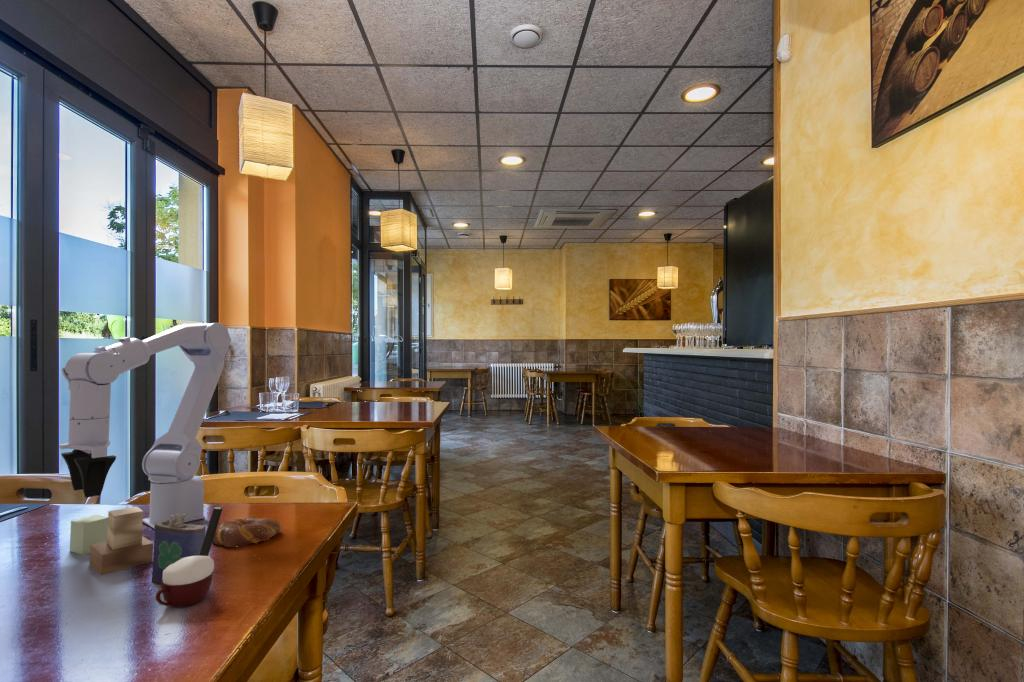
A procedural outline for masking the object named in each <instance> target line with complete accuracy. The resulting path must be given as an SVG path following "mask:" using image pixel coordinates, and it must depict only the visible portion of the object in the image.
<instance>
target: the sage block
mask: <svg viewBox="0 0 1024 682" xmlns="http://www.w3.org/2000/svg"><path fill="white" fill-rule="evenodd" d="M107 533H108V516H105V515H100V514H93V515H89V516H85V517H80V518H76V519H72V520H70V535H69V537H70V538H69V540H70V541H69V552H72V553H74V552H75V554H78V555H82V556H83V555H87V554H90V545H93V544H98V543H102V542H107Z"/></svg>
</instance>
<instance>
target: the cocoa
mask: <svg viewBox="0 0 1024 682" xmlns="http://www.w3.org/2000/svg"><path fill="white" fill-rule="evenodd" d="M222 512H223V507H219V506H215V507H213V511H212V513H211V517H210V520H209V523H208V526H207V528H206V531H205V539H204V542H203V545H202V548H201V552H200V555H199V556H189V557H185V558H182V559H180V560H178V561H177V562H175V563H173V564H171V565H169V566H168V567H167V568H166V569H164V570H163V576H162V581H161V585H160V587H161V588H160V589H158V590H157V592H156V593H155V600H156V602H157V603H158V604H160V605H163V606H165V607H173V608H185V607H189V606H193V605H195V604H197V603H199V602H200V601H202V600H203V599H205V597H206V596H207V594H208V593H209V590H210V587H211V585H212V580H213V574H214V573H213V572H214V569H215V562H214V559H213V558H212V557H210V551H211V548H212V544H213V543H214V542H213V539H214V535H215V532H216V529H217V526H219V521H220V518H221V515H222ZM161 595H162V597H163V600H162V599H161Z"/></svg>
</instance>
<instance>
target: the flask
mask: <svg viewBox="0 0 1024 682" xmlns="http://www.w3.org/2000/svg"><path fill="white" fill-rule="evenodd" d="M171 517H172V518H175V520H171V519H168V520H166V521H162V522H158V523H156V524H155V529H154V539H153V560H152V570H151V572H152V574H151V583H152V584H154V585H158V586H161V581H162V576H163V570H164V569H166V568H167V567H168V566H169V565H171V564H173V563H175V562H177V561H178V560H180V559H182V558H185V557H189V556H199V555H200V552H201V548H202V545H203V542H204V539H205V535H206V530H207V528H206V525H203V524H189V523H185V522H184V521H185V520H184V519H183V518H185V517H186V514H185V513H183V515H180V514H175V516H174V514H173V515H171Z"/></svg>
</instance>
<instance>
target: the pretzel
mask: <svg viewBox="0 0 1024 682" xmlns="http://www.w3.org/2000/svg"><path fill="white" fill-rule="evenodd" d="M281 530H282V527H281V524H280V522H279V521H278V520H277V519H274V518H267V517H260V518H258V517H253V516H252V517H251V516H250V517H245V518H235V519H230V520H226V521H224V522H221V523H220V524H218V526H217V529H216V532H215V535H214V539H213V542H212V543H214V544H215V545H216V544H217V546H222V545H224V547H225V548H228V547H236V546H243V547H245V546H244V545H246V546H248V545H247V544H249V545H251V544H252V543H255V542H258V541H260V542H261V541H264V540H267V539H269V540H271V539H272V538H273V537H274V536H273V535H276V534H278V533H279V534H280V532H281ZM279 534H278V535H279ZM272 536H273V537H272ZM276 536H277V535H276ZM271 537H272V538H271ZM270 538H271V539H270ZM267 541H268V540H267ZM264 542H265V541H264ZM250 543H251V544H250ZM236 548H237V547H236Z"/></svg>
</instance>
